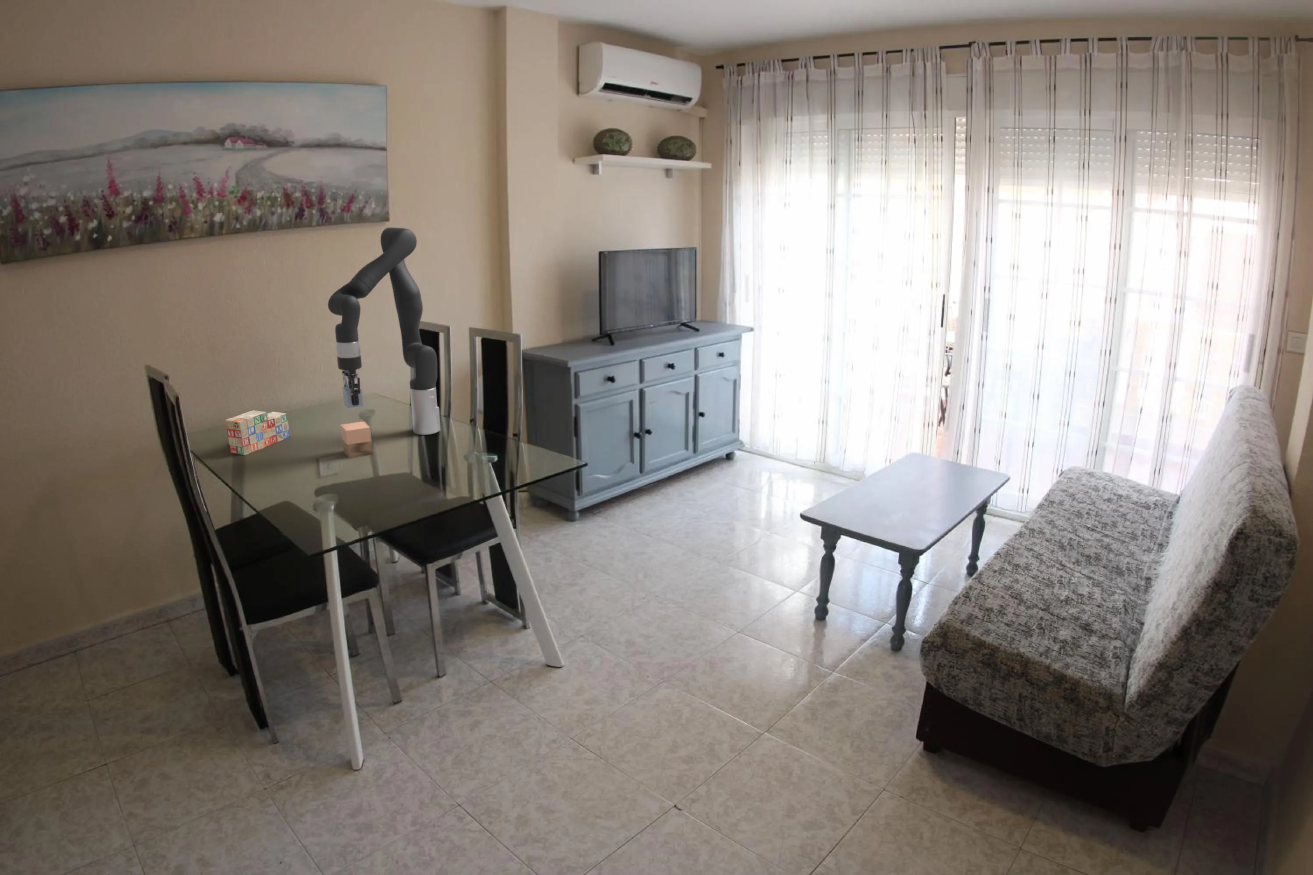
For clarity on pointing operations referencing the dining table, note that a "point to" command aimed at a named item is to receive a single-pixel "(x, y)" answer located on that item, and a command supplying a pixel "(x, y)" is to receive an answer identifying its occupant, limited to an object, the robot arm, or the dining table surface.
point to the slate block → (348, 397)
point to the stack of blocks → (256, 431)
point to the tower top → (355, 433)
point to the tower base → (358, 449)
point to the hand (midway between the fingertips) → (353, 403)
